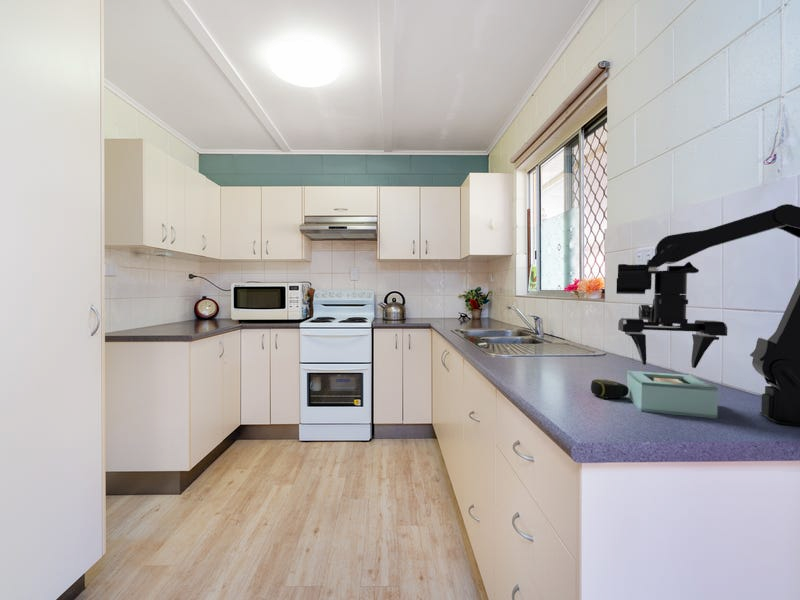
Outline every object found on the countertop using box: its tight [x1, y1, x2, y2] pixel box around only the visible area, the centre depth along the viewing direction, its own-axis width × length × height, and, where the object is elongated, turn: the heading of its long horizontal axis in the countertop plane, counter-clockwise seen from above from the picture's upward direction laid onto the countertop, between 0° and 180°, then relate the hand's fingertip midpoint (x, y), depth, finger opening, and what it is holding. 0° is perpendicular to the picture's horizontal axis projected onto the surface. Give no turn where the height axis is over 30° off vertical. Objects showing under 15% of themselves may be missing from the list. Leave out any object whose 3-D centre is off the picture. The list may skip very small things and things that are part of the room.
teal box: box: [626, 370, 719, 419], centre depth 84 cm, size 13×13×6 cm
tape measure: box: [590, 378, 629, 399], centre depth 91 cm, size 7×7×4 cm
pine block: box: [654, 378, 683, 383], centre depth 84 cm, size 4×4×5 cm
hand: (668, 366), depth 84 cm, fingers open, 9 cm apart
